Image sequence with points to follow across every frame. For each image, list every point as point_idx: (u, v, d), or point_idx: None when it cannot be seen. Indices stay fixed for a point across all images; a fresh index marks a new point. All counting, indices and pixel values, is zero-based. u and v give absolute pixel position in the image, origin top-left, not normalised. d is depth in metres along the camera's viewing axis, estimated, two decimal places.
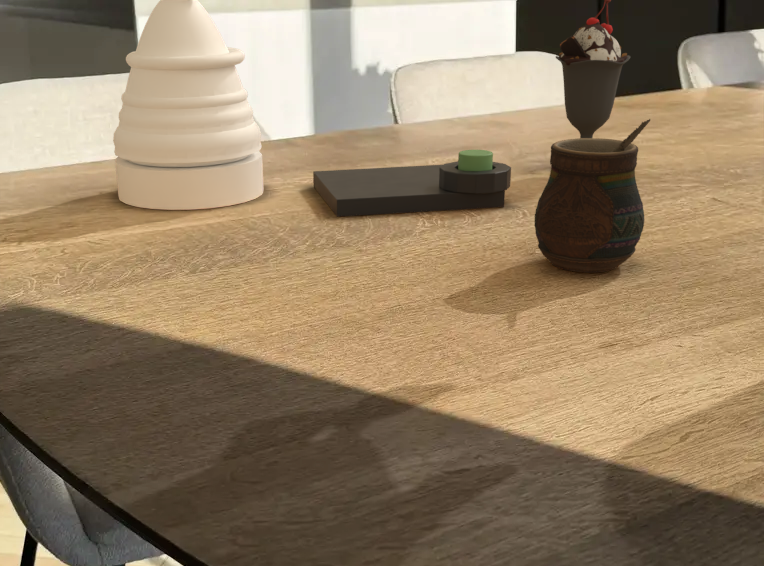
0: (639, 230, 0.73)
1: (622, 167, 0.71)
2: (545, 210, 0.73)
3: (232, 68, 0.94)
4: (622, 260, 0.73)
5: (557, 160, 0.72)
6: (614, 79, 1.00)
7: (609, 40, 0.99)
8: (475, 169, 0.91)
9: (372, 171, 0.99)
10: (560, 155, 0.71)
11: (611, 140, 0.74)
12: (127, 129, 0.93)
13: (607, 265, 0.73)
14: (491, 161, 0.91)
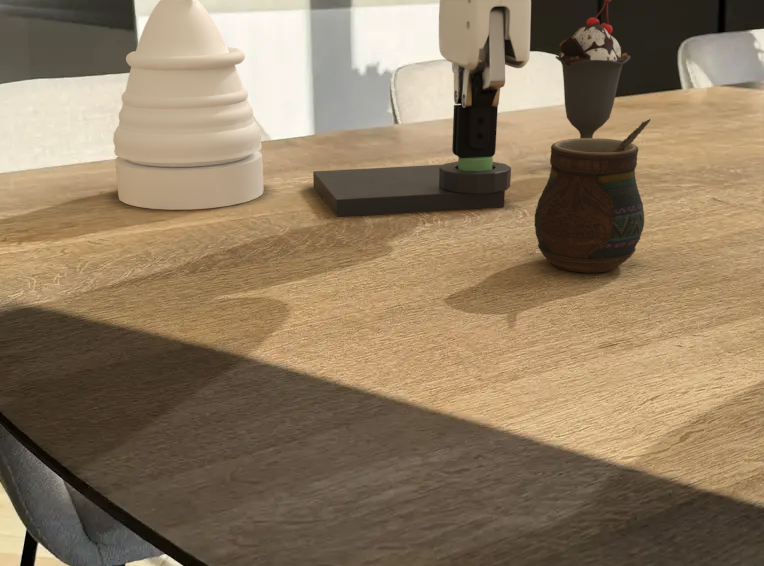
0: (639, 230, 0.73)
1: (622, 167, 0.71)
2: (545, 210, 0.73)
3: (232, 68, 0.94)
4: (622, 260, 0.73)
5: (557, 160, 0.72)
6: (614, 79, 1.00)
7: (609, 40, 0.99)
8: None
9: (372, 171, 0.99)
10: (560, 155, 0.71)
11: (611, 140, 0.74)
12: (127, 129, 0.93)
13: (607, 265, 0.73)
14: (491, 164, 0.91)
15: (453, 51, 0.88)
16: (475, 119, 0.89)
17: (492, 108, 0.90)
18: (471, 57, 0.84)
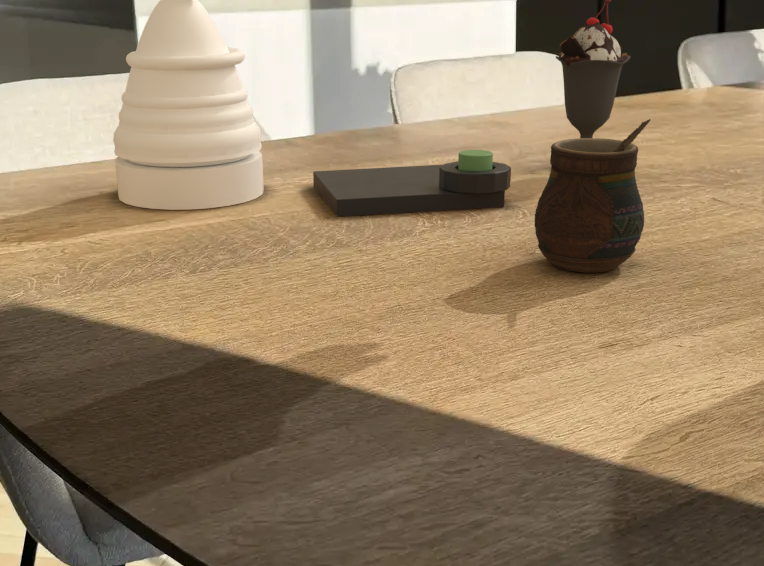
0: (639, 230, 0.73)
1: (622, 167, 0.71)
2: (545, 210, 0.73)
3: (232, 68, 0.94)
4: (622, 260, 0.73)
5: (557, 160, 0.72)
6: (614, 79, 1.00)
7: (609, 40, 0.99)
8: (475, 169, 0.91)
9: (372, 171, 0.99)
10: (560, 155, 0.71)
11: (611, 140, 0.74)
12: (127, 129, 0.93)
13: (607, 265, 0.73)
14: (491, 161, 0.91)
15: None
16: None
17: None
18: None
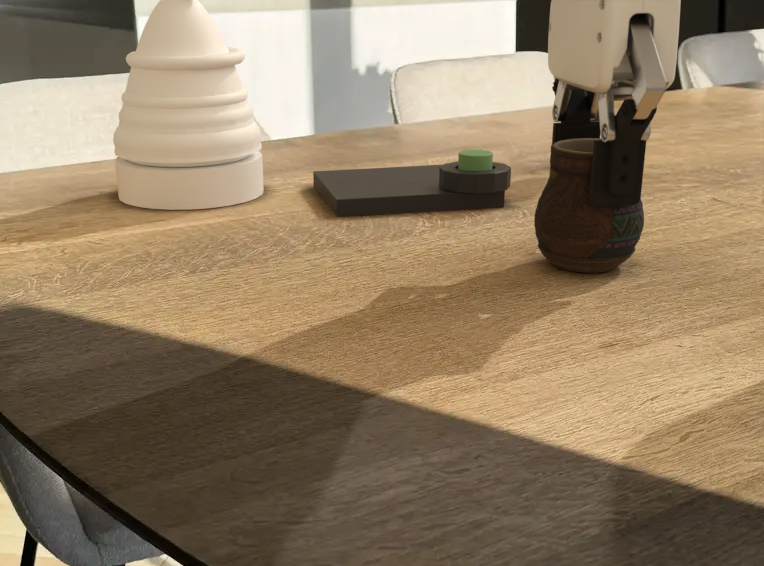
0: (639, 230, 0.73)
1: None
2: (545, 210, 0.73)
3: (232, 68, 0.94)
4: (622, 260, 0.73)
5: (557, 160, 0.72)
6: None
7: None
8: (475, 169, 0.91)
9: (372, 171, 0.99)
10: (560, 155, 0.71)
11: None
12: (127, 129, 0.93)
13: (607, 265, 0.73)
14: (491, 161, 0.91)
15: (573, 70, 0.70)
16: (618, 156, 0.68)
17: (639, 142, 0.69)
18: (602, 78, 0.66)
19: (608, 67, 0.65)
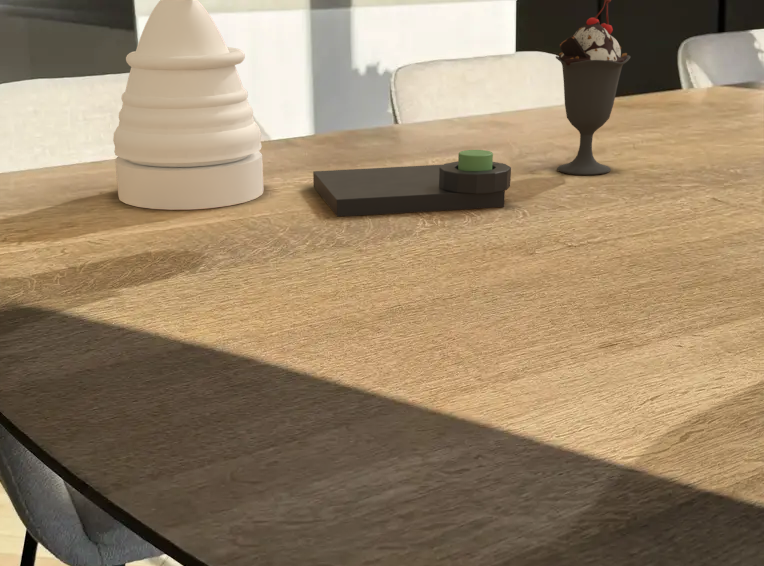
0: None
1: None
2: None
3: (232, 68, 0.94)
4: None
5: None
6: (614, 79, 1.00)
7: (609, 40, 0.99)
8: (475, 169, 0.91)
9: (372, 171, 0.99)
10: None
11: None
12: (127, 129, 0.93)
13: None
14: (491, 161, 0.91)
15: None
16: None
17: None
18: None
19: None
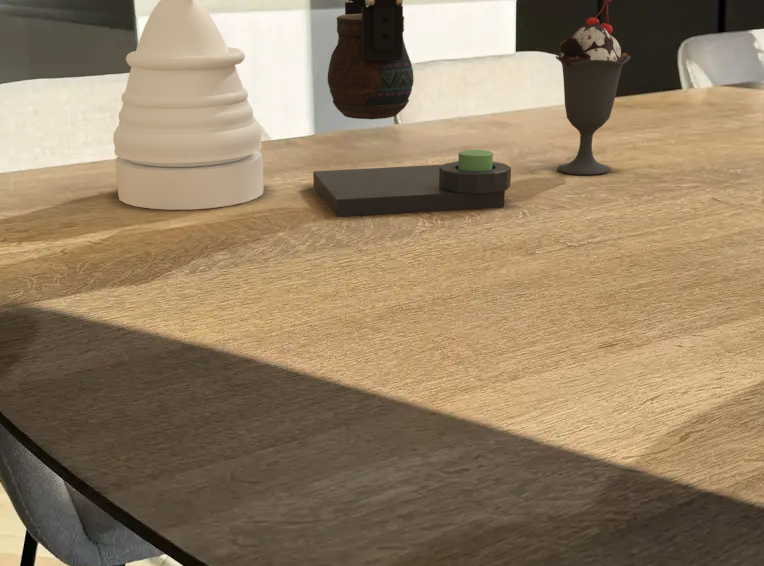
0: (406, 84, 0.91)
1: None
2: (332, 67, 0.91)
3: (232, 68, 0.94)
4: (394, 108, 0.92)
5: (339, 27, 0.91)
6: (614, 79, 1.00)
7: (609, 40, 0.99)
8: (475, 169, 0.91)
9: (372, 171, 0.99)
10: (341, 22, 0.90)
11: None
12: (127, 129, 0.93)
13: (382, 112, 0.92)
14: (491, 161, 0.91)
15: None
16: (379, 19, 0.87)
17: (397, 8, 0.88)
18: None
19: None
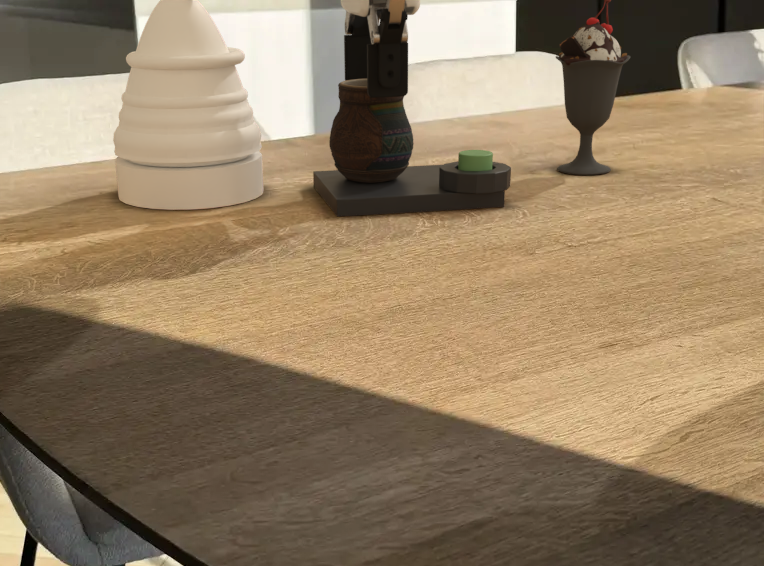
0: (406, 148, 0.94)
1: (388, 98, 0.91)
2: (333, 133, 0.94)
3: (232, 68, 0.94)
4: (395, 172, 0.94)
5: (341, 93, 0.93)
6: (614, 79, 1.00)
7: (609, 40, 0.99)
8: (475, 169, 0.91)
9: None
10: (342, 89, 0.92)
11: None
12: (127, 129, 0.93)
13: (383, 176, 0.94)
14: (491, 161, 0.91)
15: (349, 0, 0.90)
16: (384, 56, 0.87)
17: (402, 45, 0.87)
18: (362, 3, 0.86)
19: None
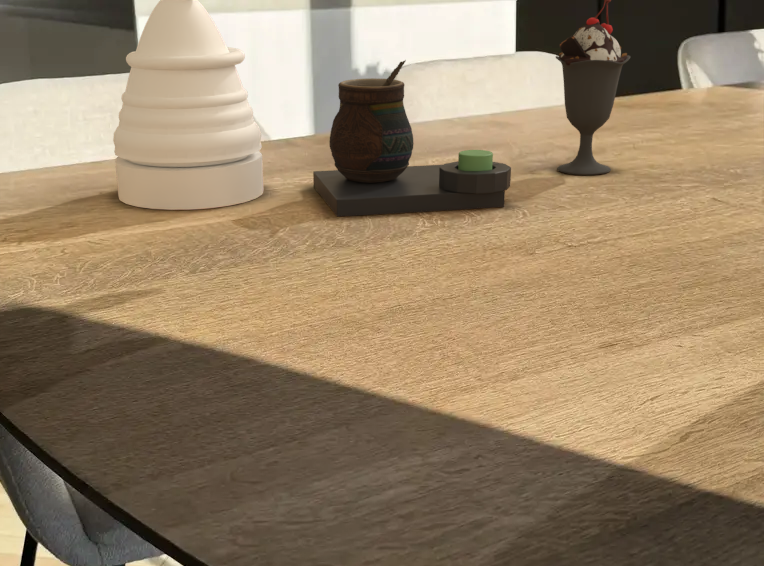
0: (406, 149, 0.94)
1: (388, 98, 0.91)
2: (334, 133, 0.94)
3: (232, 68, 0.94)
4: (395, 172, 0.94)
5: (341, 93, 0.93)
6: (614, 79, 1.00)
7: (609, 40, 0.99)
8: (475, 169, 0.91)
9: None
10: (342, 89, 0.92)
11: None
12: (127, 129, 0.93)
13: (383, 176, 0.94)
14: (491, 161, 0.91)
15: None
16: None
17: None
18: None
19: None
